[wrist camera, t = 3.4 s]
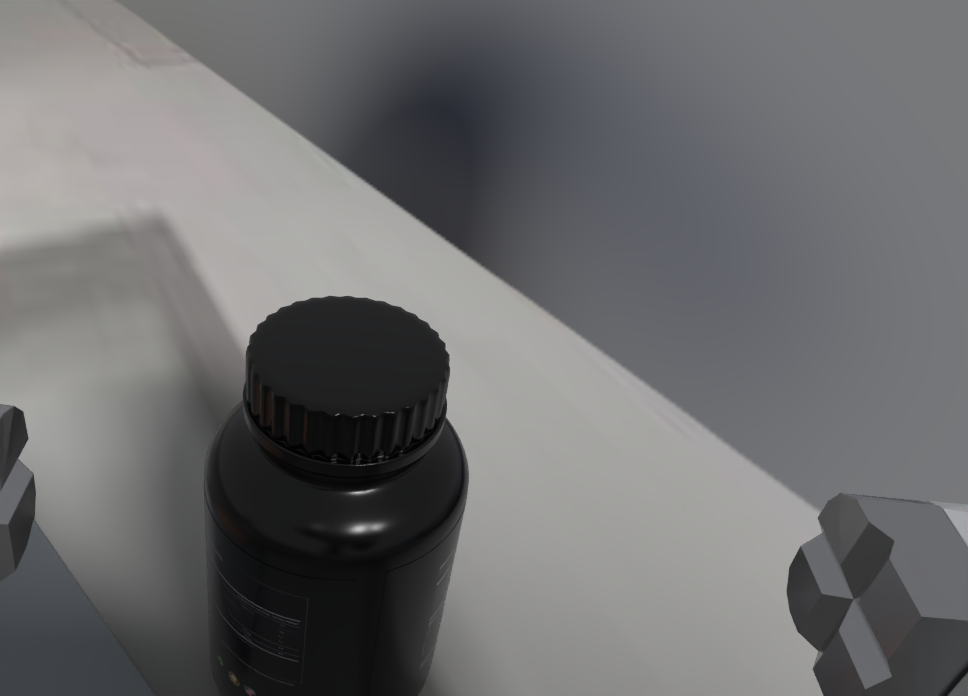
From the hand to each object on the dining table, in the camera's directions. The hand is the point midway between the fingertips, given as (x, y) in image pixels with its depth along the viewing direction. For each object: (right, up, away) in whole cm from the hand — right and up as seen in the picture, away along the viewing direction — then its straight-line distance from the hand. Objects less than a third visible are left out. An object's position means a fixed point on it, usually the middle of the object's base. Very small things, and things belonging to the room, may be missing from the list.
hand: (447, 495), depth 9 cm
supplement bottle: (-5, -8, +19) cm, 21 cm away
